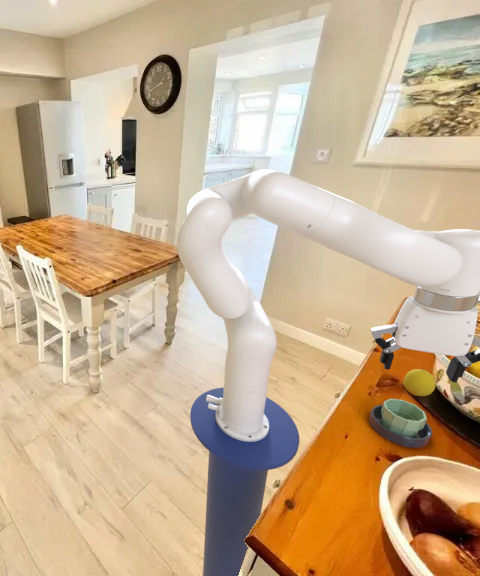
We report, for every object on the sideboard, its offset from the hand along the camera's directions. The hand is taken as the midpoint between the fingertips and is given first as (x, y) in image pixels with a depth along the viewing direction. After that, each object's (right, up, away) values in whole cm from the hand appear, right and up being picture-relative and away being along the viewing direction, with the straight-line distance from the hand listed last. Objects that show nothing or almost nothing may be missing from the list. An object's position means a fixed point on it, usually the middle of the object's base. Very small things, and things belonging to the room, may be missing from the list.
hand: (416, 371), depth 63 cm
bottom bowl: (+4, -16, +8) cm, 18 cm away
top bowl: (+4, -15, +8) cm, 18 cm away
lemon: (+16, -11, +16) cm, 25 cm away
